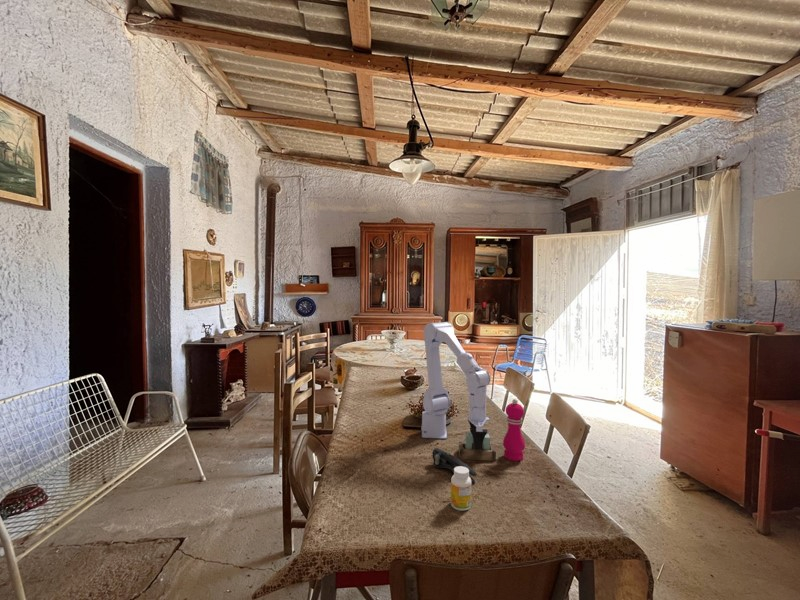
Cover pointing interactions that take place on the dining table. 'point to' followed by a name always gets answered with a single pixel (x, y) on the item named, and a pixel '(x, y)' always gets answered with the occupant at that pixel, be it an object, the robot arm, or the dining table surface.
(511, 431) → the pepper mill
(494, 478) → the dining table surface
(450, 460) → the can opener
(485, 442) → the mint green foam block
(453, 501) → the supplement bottle
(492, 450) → the brown wooden frame
